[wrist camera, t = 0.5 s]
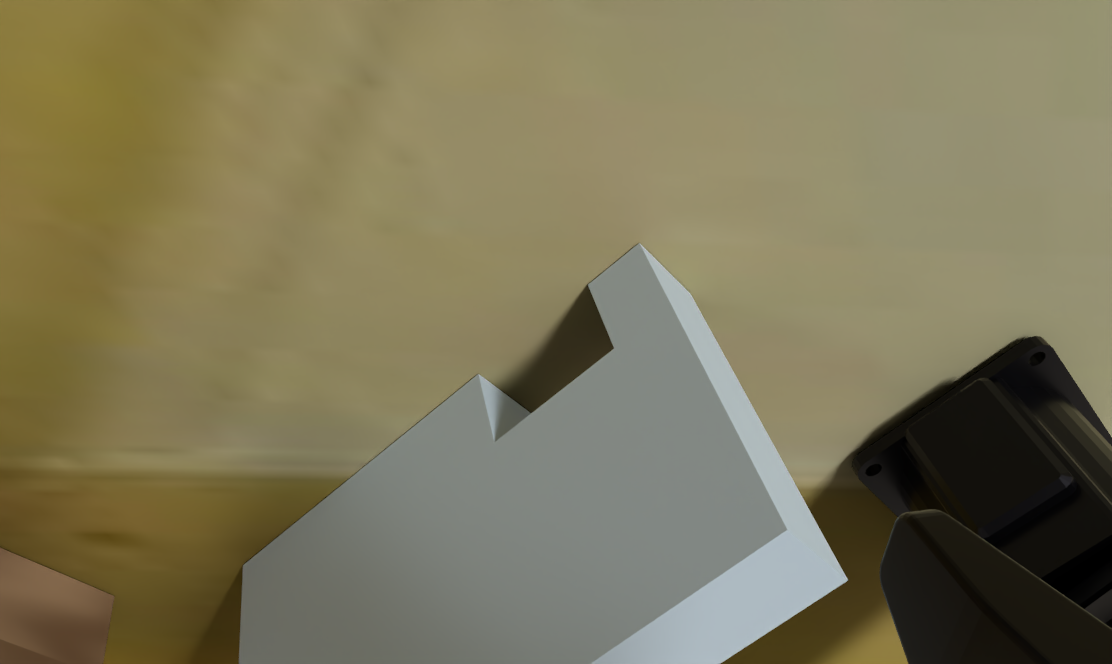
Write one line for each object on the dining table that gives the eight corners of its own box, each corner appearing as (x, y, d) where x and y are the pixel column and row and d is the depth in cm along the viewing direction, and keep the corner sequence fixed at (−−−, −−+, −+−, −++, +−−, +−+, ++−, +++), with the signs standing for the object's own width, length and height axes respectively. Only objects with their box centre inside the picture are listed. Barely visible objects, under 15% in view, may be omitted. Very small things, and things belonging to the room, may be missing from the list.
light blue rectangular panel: (639, 242, 24) (787, 529, 17) (690, 293, 25) (848, 580, 18) (242, 565, 27) (227, 910, 20) (305, 595, 28) (310, 929, 22)
